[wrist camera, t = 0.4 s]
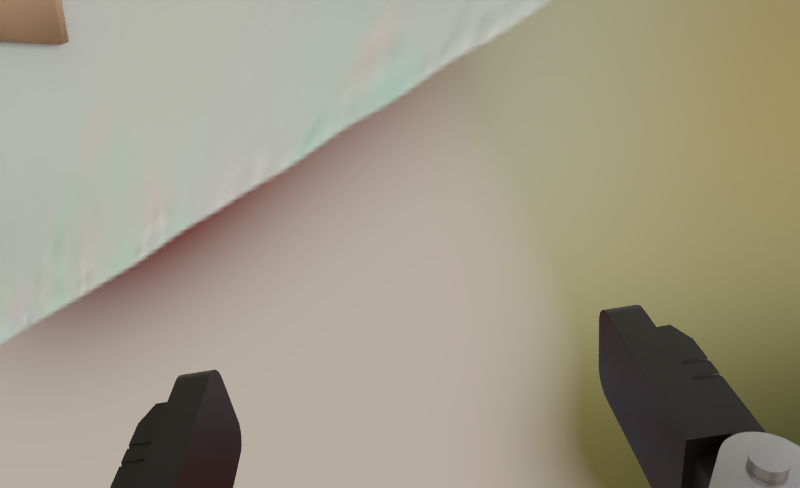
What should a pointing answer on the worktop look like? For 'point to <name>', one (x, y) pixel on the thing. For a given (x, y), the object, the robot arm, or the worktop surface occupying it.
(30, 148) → the worktop surface
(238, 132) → the worktop surface
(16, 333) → the worktop surface
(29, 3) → the board
